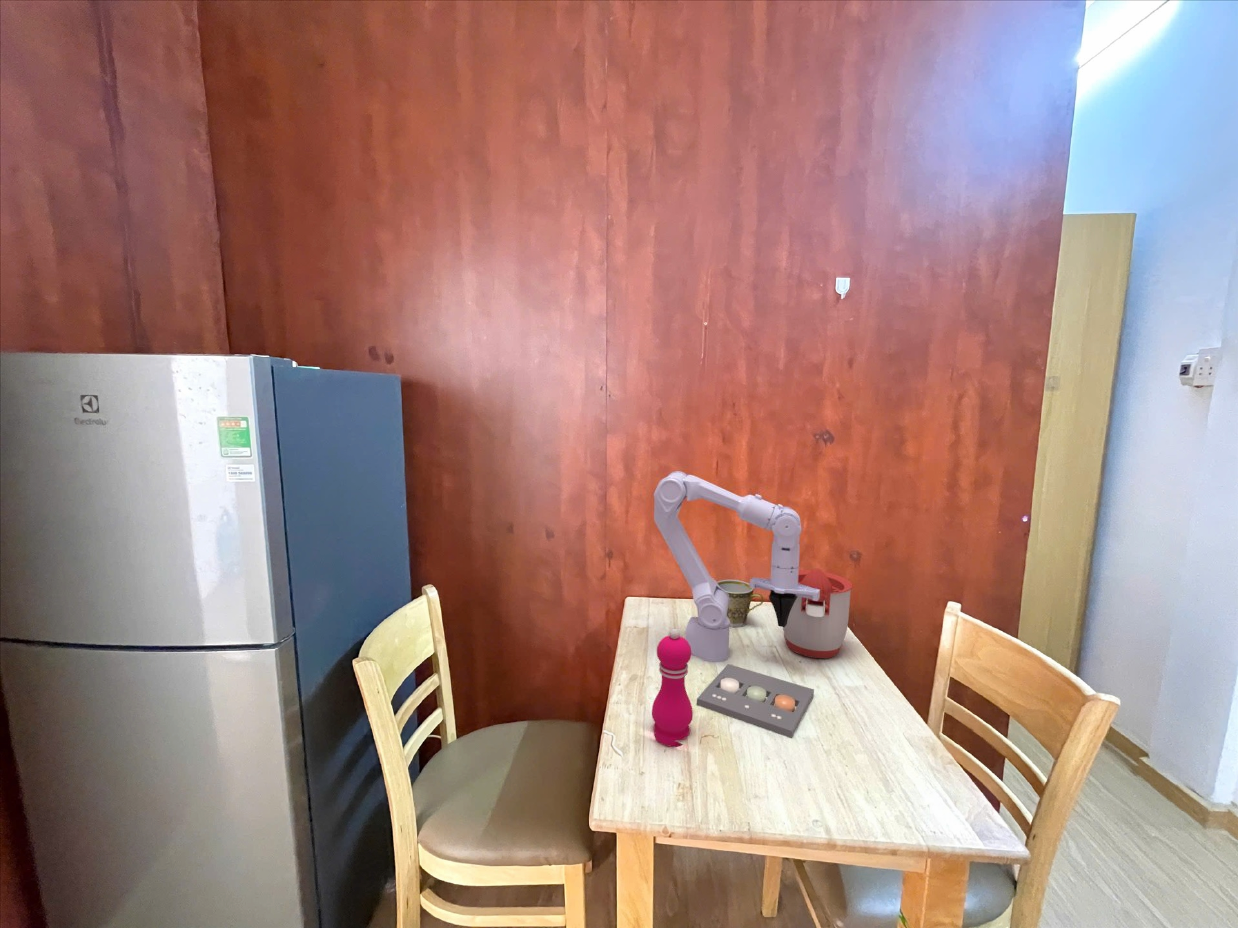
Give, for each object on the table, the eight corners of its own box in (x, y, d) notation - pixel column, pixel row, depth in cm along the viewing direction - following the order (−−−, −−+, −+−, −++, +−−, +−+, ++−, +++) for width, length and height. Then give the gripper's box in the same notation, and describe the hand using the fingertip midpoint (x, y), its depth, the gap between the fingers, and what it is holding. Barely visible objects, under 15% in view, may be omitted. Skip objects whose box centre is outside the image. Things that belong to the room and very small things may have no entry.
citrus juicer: (775, 660, 124) (780, 576, 121) (780, 629, 140) (784, 554, 138) (849, 673, 119) (855, 585, 116) (845, 639, 135) (851, 562, 132)
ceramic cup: (707, 623, 143) (708, 587, 142) (722, 611, 151) (724, 576, 150) (754, 636, 136) (756, 598, 134) (768, 623, 144) (770, 587, 143)
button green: (743, 706, 105) (744, 692, 105) (750, 698, 108) (750, 684, 108) (762, 712, 103) (762, 698, 103) (767, 703, 106) (768, 689, 106)
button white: (717, 697, 108) (717, 683, 108) (724, 689, 111) (724, 675, 111) (734, 703, 106) (735, 689, 106) (741, 695, 109) (741, 681, 109)
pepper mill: (695, 728, 99) (699, 623, 96) (687, 752, 92) (691, 641, 89) (657, 719, 101) (659, 617, 98) (646, 743, 94) (648, 634, 91)
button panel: (696, 710, 104) (696, 697, 104) (727, 674, 117) (728, 662, 117) (791, 744, 94) (792, 729, 94) (813, 701, 108) (814, 688, 107)
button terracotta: (771, 716, 102) (772, 701, 102) (777, 707, 105) (778, 692, 105) (791, 722, 100) (792, 707, 100) (796, 713, 103) (797, 698, 103)
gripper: (745, 564, 117) (744, 623, 119) (815, 576, 109) (812, 639, 111) (756, 555, 123) (754, 612, 125) (823, 566, 115) (820, 627, 117)
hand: (782, 624), depth 118 cm, fingers closed
